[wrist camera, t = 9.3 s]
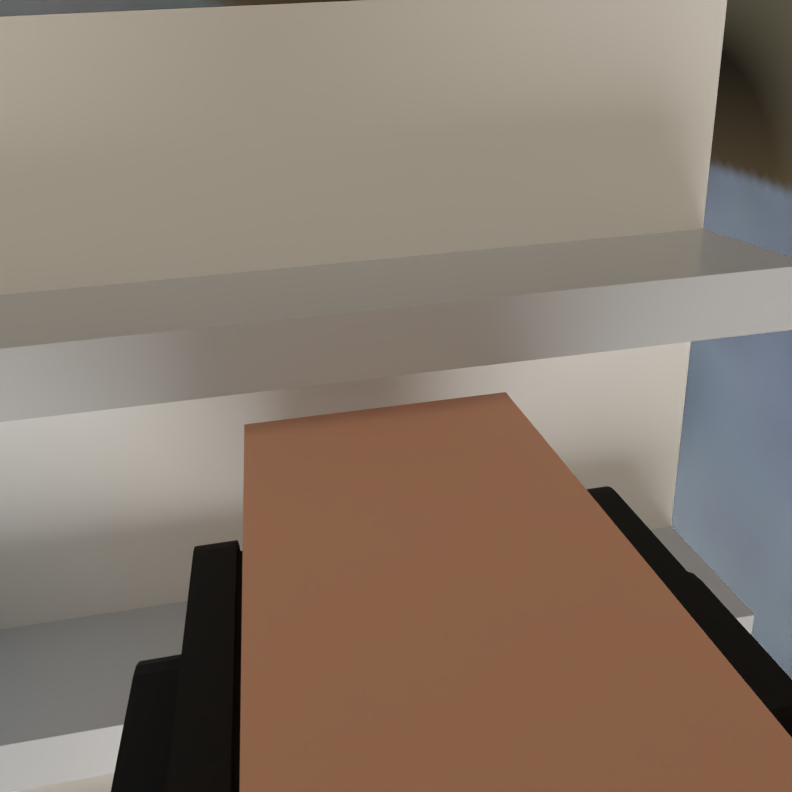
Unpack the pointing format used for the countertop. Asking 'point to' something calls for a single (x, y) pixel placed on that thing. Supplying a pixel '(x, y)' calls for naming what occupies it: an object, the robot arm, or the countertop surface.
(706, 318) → the wall shelf
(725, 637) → the robot arm
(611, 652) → the peach cardboard carton
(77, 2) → the countertop surface
